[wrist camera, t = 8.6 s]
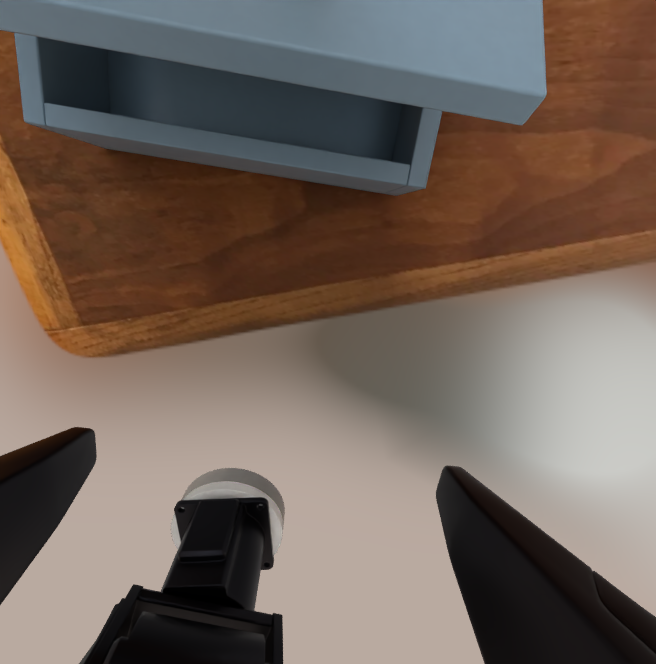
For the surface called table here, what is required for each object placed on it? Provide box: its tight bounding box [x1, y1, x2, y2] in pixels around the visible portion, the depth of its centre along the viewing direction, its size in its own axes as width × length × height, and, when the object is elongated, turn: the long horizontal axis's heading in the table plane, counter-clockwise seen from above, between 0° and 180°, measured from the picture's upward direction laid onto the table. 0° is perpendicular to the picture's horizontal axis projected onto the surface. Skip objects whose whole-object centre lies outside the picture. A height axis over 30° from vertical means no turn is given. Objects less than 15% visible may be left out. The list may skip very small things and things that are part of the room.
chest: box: [14, 33, 442, 196], centre depth 14 cm, size 12×16×5 cm
